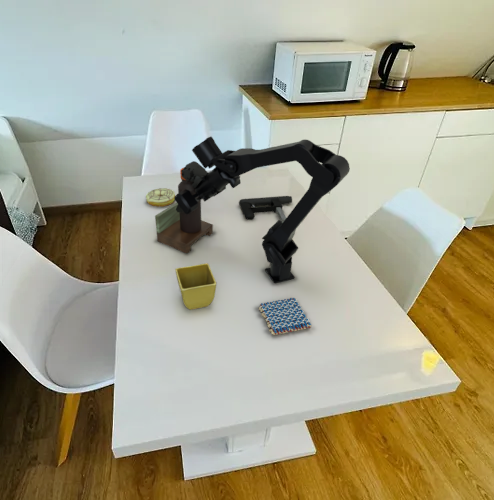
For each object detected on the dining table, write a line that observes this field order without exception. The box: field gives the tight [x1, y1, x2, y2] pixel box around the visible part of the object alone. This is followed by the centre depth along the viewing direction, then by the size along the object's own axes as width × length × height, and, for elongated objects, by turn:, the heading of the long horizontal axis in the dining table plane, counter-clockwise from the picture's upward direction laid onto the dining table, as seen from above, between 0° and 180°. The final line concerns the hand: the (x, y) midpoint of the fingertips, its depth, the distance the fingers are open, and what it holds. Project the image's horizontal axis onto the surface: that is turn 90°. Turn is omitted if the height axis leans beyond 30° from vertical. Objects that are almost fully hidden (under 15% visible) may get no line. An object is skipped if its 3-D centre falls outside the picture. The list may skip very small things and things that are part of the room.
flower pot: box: [174, 263, 217, 311], centre depth 99 cm, size 9×9×9 cm
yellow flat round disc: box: [145, 187, 176, 208], centre depth 145 cm, size 10×11×4 cm
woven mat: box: [258, 297, 312, 336], centre depth 97 cm, size 10×11×2 cm
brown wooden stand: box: [154, 201, 214, 254], centre depth 124 cm, size 12×14×10 cm
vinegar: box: [177, 167, 202, 233], centre depth 119 cm, size 7×7×20 cm
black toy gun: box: [238, 195, 293, 223], centre depth 140 cm, size 3×20×16 cm
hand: (186, 204), depth 119 cm, fingers open, 9 cm apart
